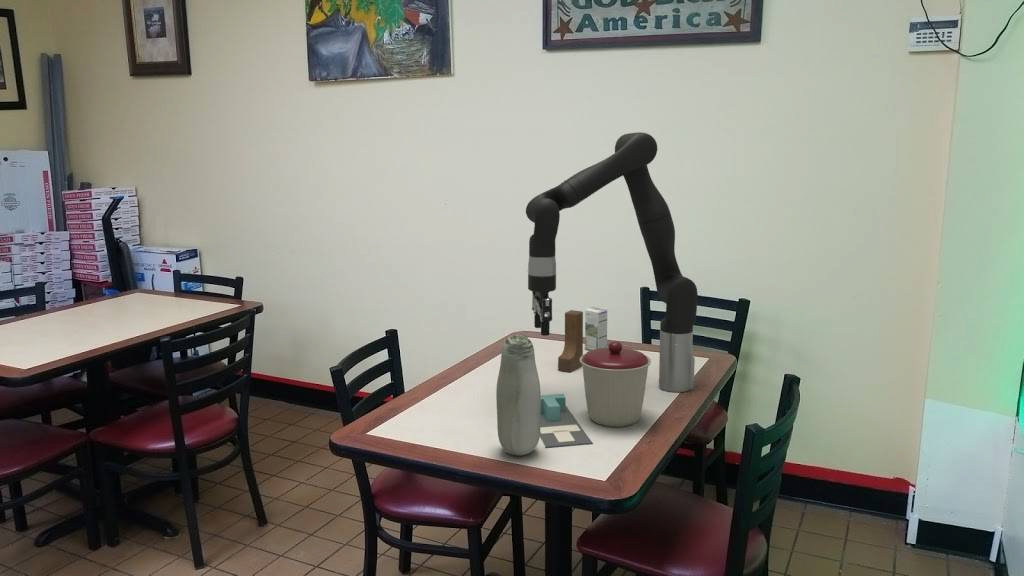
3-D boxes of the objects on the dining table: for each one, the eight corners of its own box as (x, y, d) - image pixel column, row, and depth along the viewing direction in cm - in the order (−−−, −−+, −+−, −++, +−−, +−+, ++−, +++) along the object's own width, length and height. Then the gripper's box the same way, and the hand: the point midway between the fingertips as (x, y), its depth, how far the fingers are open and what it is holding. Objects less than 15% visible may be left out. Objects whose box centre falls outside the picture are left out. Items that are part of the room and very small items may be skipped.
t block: (562, 407, 202) (562, 393, 201) (571, 419, 193) (571, 405, 193) (530, 410, 201) (530, 396, 200) (537, 422, 192) (537, 407, 191)
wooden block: (570, 373, 233) (570, 317, 230) (557, 370, 236) (557, 315, 232) (583, 365, 241) (583, 311, 237) (570, 363, 243) (570, 309, 240)
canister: (663, 419, 194) (665, 341, 190) (621, 439, 181) (622, 356, 177) (607, 403, 206) (608, 329, 202) (565, 421, 194) (564, 342, 190)
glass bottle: (543, 460, 170) (542, 341, 165) (498, 462, 169) (496, 343, 164) (538, 443, 180) (537, 330, 174) (496, 444, 179) (493, 331, 174)
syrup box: (607, 349, 259) (608, 308, 256) (597, 352, 255) (597, 311, 252) (594, 346, 263) (595, 306, 260) (584, 349, 259) (584, 309, 256)
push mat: (564, 404, 206) (564, 403, 206) (592, 444, 179) (592, 442, 179) (523, 407, 204) (523, 406, 204) (545, 448, 177) (545, 446, 177)
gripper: (562, 276, 193) (561, 337, 197) (549, 267, 207) (549, 324, 210) (533, 277, 192) (533, 338, 195) (523, 268, 206) (523, 325, 209)
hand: (541, 331), depth 203 cm, fingers open, 8 cm apart
